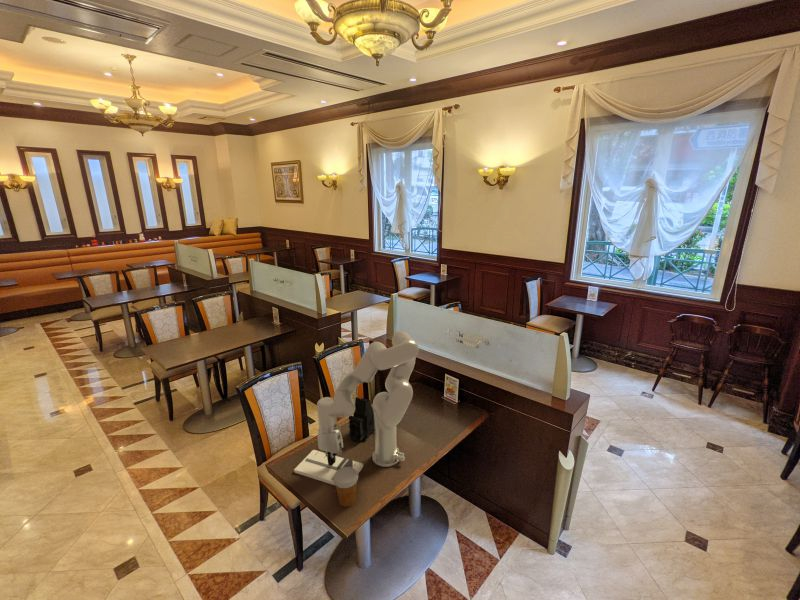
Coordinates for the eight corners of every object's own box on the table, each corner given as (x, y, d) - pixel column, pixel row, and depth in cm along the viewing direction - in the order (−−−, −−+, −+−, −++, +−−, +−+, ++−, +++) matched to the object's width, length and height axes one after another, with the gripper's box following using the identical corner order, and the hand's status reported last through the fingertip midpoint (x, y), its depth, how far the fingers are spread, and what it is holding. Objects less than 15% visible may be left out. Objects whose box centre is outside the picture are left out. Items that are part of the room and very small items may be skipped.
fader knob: (352, 467, 159) (352, 459, 158) (345, 476, 153) (345, 469, 152) (344, 464, 160) (344, 457, 159) (337, 474, 155) (336, 466, 154)
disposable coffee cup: (347, 487, 150) (346, 462, 147) (364, 499, 144) (363, 473, 141) (329, 502, 143) (327, 476, 140) (346, 514, 137) (344, 488, 134)
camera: (345, 440, 179) (342, 404, 174) (360, 425, 191) (359, 391, 185) (362, 446, 175) (360, 409, 169) (377, 431, 186) (376, 395, 181)
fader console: (363, 466, 162) (363, 463, 161) (347, 489, 149) (346, 485, 149) (313, 452, 171) (313, 449, 171) (294, 472, 159) (294, 469, 158)
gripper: (348, 425, 155) (351, 461, 160) (318, 418, 160) (322, 453, 165) (339, 435, 148) (342, 473, 153) (308, 428, 154) (312, 465, 159)
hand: (331, 463), depth 159 cm, fingers closed
